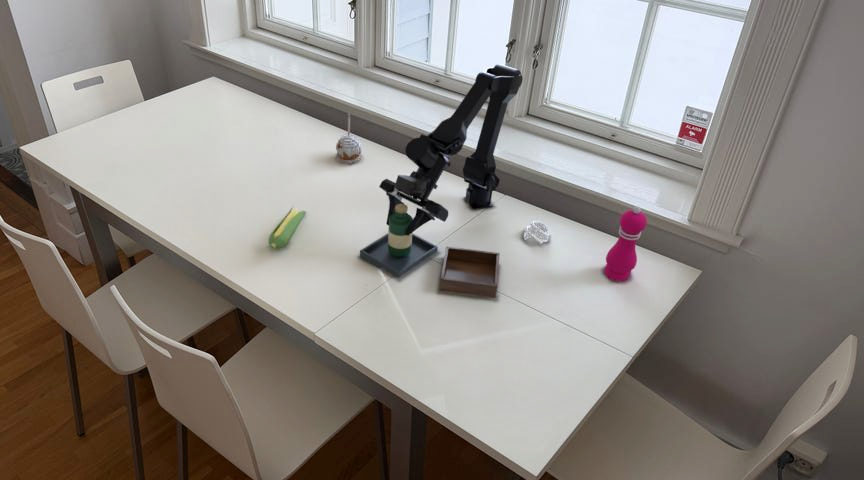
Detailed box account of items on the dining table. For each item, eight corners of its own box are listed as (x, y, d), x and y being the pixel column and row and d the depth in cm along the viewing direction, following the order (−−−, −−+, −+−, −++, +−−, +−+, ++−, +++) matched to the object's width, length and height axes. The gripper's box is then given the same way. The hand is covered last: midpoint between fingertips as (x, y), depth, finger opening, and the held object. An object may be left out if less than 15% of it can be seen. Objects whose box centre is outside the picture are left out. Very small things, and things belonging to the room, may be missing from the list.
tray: (398, 232, 178) (399, 226, 177) (437, 253, 172) (437, 246, 170) (359, 257, 169) (359, 250, 168) (398, 279, 163) (399, 272, 161)
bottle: (413, 245, 171) (416, 202, 163) (408, 258, 167) (410, 215, 159) (390, 241, 172) (392, 198, 164) (385, 254, 168) (386, 211, 160)
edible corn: (264, 251, 170) (263, 237, 167) (294, 210, 185) (293, 197, 183) (283, 255, 169) (282, 240, 166) (311, 214, 184) (310, 200, 182)
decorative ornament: (339, 151, 213) (338, 108, 204) (363, 153, 213) (363, 110, 203) (334, 163, 207) (333, 118, 198) (359, 165, 206) (359, 121, 197)
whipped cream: (524, 230, 183) (525, 214, 180) (549, 231, 181) (550, 216, 179) (523, 245, 176) (524, 229, 173) (549, 246, 175) (550, 230, 172)
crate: (444, 259, 170) (446, 246, 167) (497, 265, 168) (499, 252, 166) (439, 292, 159) (440, 278, 157) (495, 299, 158) (497, 286, 155)
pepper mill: (598, 265, 169) (617, 198, 157) (625, 264, 170) (646, 198, 158) (607, 283, 164) (628, 215, 151) (636, 282, 164) (659, 215, 152)
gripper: (384, 149, 162) (353, 205, 162) (445, 176, 152) (411, 236, 153) (404, 166, 172) (375, 219, 172) (462, 193, 162) (431, 248, 162)
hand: (396, 229), depth 165 cm, fingers closed on bottle, 6 cm apart
